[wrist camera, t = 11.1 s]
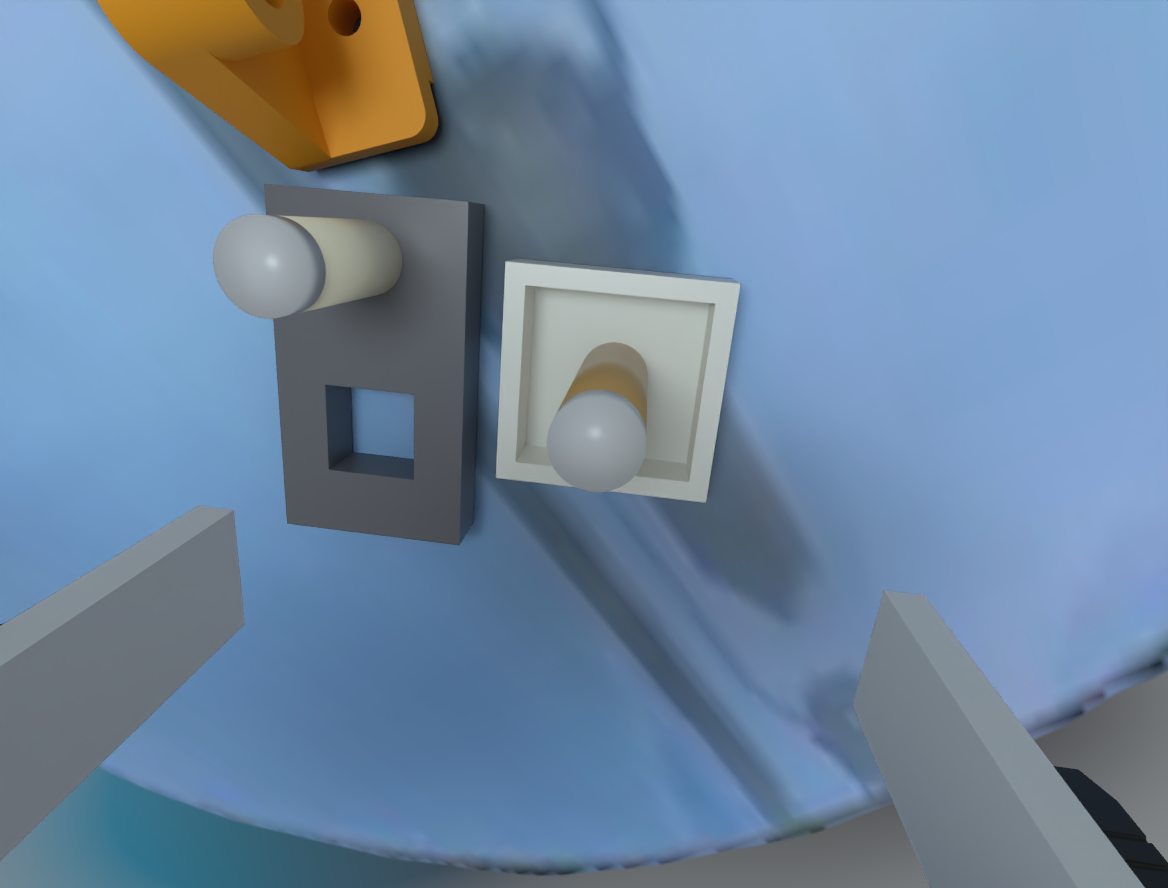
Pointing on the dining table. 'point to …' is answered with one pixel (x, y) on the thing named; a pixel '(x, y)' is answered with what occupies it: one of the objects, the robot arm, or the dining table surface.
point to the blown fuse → (602, 421)
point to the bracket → (294, 70)
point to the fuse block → (367, 349)
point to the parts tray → (625, 315)
